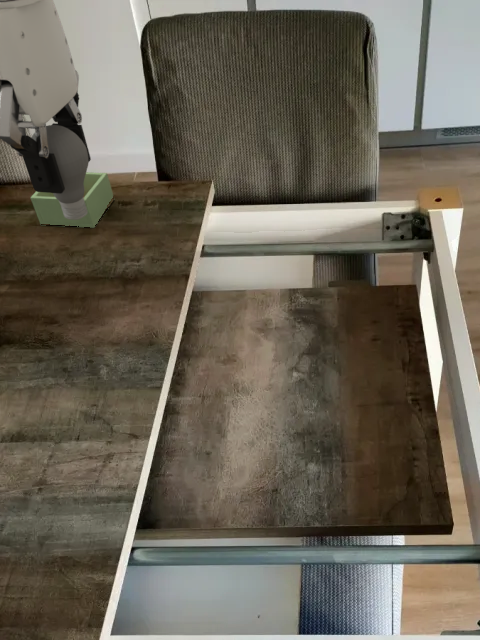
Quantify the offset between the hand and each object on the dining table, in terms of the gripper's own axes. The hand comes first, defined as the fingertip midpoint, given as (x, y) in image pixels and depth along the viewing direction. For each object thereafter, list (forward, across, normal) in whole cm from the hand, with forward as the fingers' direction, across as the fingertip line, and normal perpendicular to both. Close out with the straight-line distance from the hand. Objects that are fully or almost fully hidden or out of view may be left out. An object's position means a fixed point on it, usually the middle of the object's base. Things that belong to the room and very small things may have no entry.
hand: (63, 174), depth 70 cm
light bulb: (+5, 0, 0) cm, 5 cm away
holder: (+20, -26, -15) cm, 36 cm away
